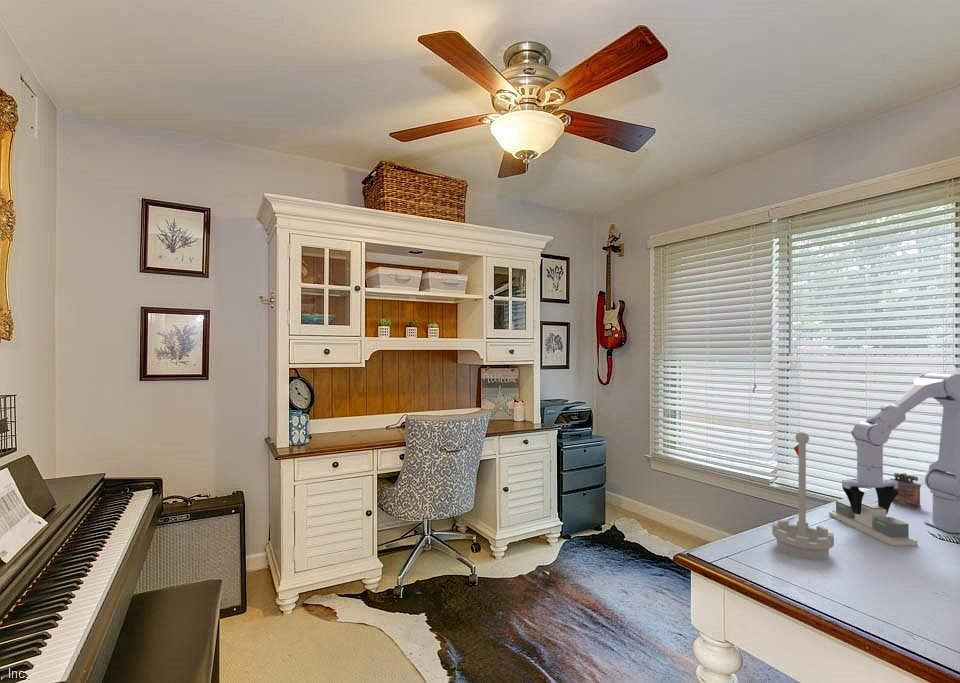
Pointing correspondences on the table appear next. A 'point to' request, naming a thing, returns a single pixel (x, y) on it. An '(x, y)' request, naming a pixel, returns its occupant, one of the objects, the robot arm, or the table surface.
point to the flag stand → (802, 521)
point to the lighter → (907, 491)
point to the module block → (869, 513)
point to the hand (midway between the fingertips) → (869, 513)
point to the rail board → (876, 526)
